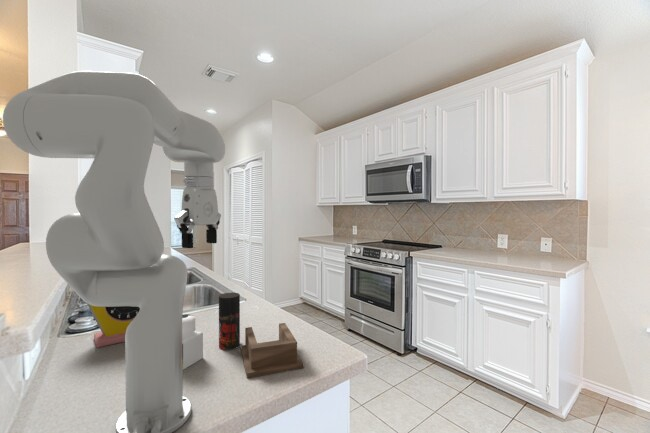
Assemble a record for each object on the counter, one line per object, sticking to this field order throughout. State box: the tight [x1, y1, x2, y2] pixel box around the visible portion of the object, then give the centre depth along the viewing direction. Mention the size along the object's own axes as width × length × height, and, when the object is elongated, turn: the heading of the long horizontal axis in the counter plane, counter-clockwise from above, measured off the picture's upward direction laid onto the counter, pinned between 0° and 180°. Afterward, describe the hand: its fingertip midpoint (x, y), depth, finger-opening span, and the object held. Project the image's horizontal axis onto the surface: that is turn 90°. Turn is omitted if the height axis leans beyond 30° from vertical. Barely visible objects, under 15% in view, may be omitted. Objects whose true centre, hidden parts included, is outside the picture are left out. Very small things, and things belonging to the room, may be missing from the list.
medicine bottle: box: [182, 313, 204, 371], centre depth 82 cm, size 7×7×12 cm
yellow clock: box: [86, 303, 140, 349], centre depth 98 cm, size 22×9×22 cm, turn 130°
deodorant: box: [218, 292, 241, 351], centre depth 91 cm, size 6×6×15 cm
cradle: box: [240, 322, 304, 379], centre depth 84 cm, size 16×14×6 cm
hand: (200, 245), depth 86 cm, fingers open, 9 cm apart
